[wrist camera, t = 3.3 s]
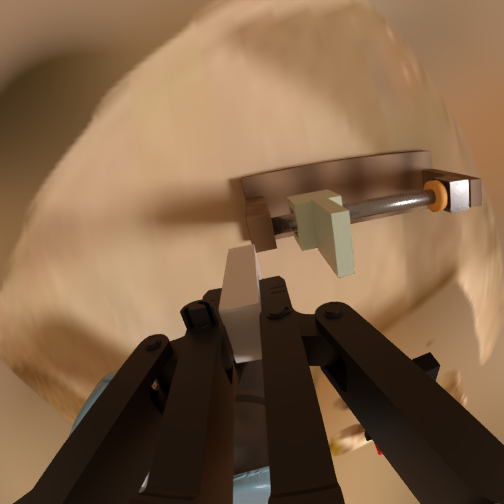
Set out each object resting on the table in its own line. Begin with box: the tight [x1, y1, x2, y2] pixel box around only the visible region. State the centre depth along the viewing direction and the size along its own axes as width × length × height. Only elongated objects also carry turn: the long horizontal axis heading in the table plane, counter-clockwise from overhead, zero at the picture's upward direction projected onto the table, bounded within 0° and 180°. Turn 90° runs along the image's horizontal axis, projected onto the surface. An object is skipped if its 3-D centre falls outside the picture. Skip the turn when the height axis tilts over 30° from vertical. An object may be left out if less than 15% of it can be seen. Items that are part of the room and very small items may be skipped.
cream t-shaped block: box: [287, 189, 355, 278], centre depth 22 cm, size 4×4×10 cm
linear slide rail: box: [241, 151, 482, 253], centre depth 28 cm, size 26×8×12 cm, turn 102°
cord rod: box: [271, 176, 469, 236], centre depth 24 cm, size 24×3×3 cm, turn 102°
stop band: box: [423, 180, 447, 212], centre depth 24 cm, size 1×3×3 cm, turn 12°
